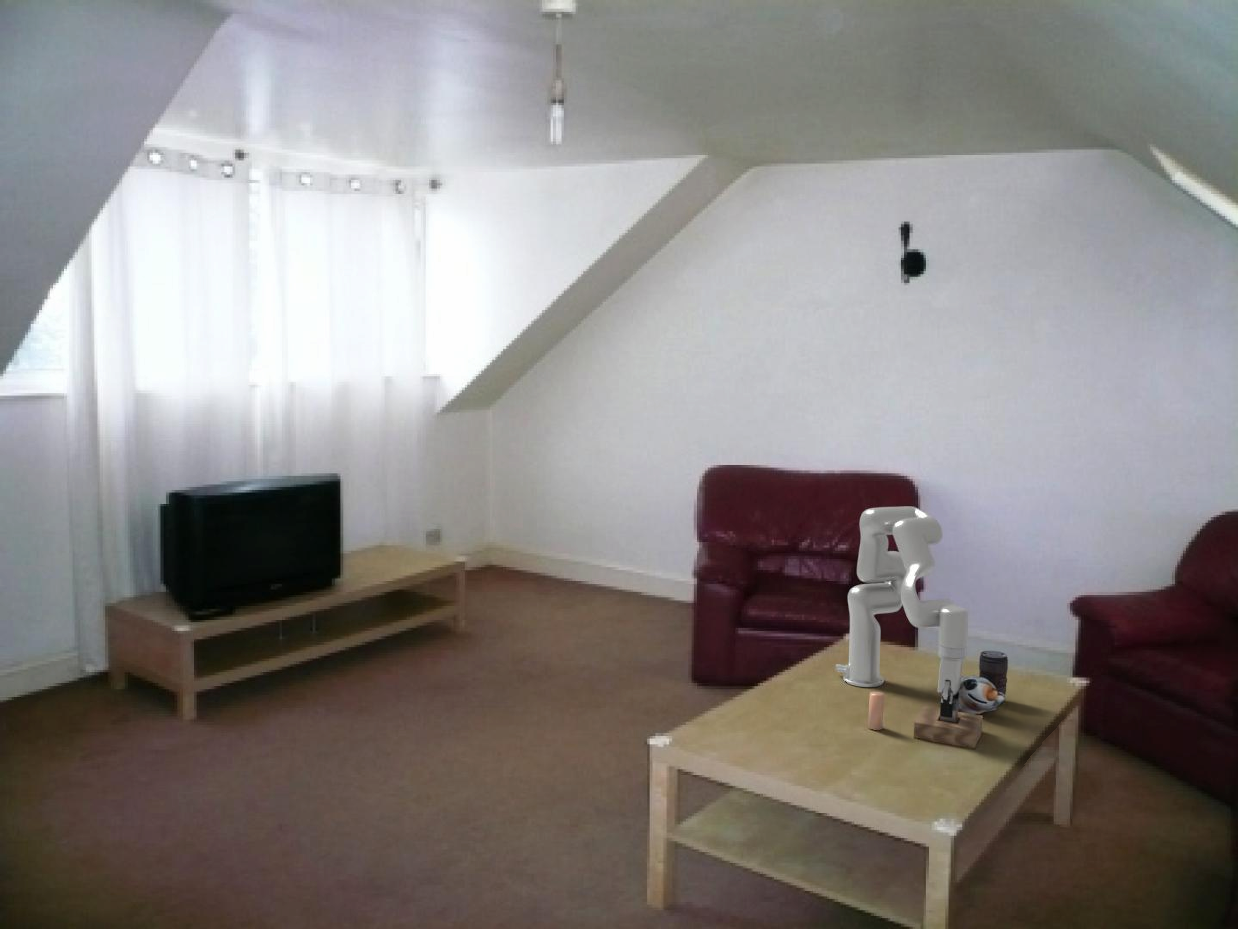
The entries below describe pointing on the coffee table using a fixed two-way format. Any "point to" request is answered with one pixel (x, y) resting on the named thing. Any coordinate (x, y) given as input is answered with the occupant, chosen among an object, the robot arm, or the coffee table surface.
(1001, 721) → the coffee table surface
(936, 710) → the bore block
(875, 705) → the round bit
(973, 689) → the lucky cat figurine
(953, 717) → the square bit
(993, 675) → the camera lens
